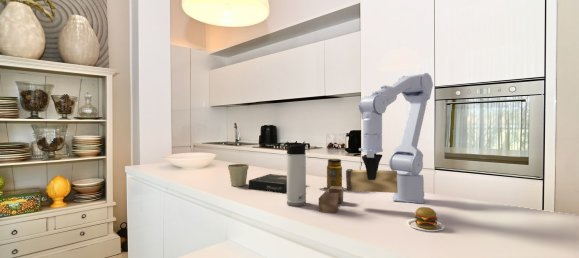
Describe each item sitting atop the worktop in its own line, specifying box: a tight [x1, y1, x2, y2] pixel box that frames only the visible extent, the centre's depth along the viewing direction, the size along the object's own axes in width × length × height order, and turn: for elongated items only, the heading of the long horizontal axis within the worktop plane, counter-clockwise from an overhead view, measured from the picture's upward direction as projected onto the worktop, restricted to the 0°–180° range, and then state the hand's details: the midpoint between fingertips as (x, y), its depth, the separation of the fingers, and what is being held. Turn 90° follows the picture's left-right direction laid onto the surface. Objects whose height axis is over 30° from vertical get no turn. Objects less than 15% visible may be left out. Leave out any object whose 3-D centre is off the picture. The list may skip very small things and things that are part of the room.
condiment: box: [319, 158, 347, 192], centre depth 120 cm, size 7×8×12 cm
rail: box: [345, 168, 398, 194], centre depth 92 cm, size 15×4×6 cm, turn 70°
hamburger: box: [406, 206, 446, 232], centre depth 77 cm, size 12×12×6 cm
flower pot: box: [226, 163, 250, 188], centre depth 128 cm, size 9×9×9 cm
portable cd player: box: [248, 173, 287, 194], centre depth 125 cm, size 16×17×4 cm
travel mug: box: [286, 142, 307, 207], centre depth 98 cm, size 6×7×20 cm
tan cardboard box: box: [318, 186, 344, 214], centre depth 96 cm, size 5×14×5 cm, turn 160°
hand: (372, 178), depth 92 cm, fingers closed on rail, 3 cm apart
